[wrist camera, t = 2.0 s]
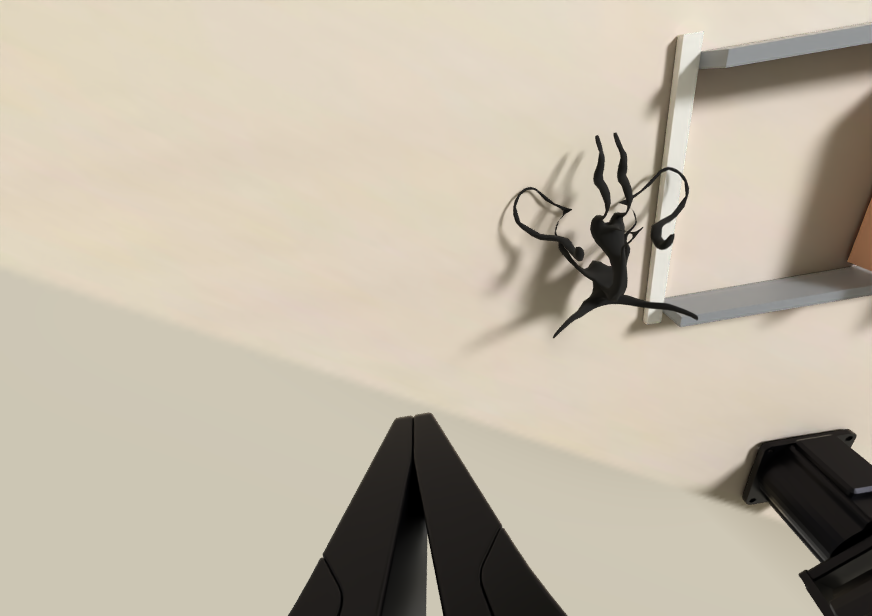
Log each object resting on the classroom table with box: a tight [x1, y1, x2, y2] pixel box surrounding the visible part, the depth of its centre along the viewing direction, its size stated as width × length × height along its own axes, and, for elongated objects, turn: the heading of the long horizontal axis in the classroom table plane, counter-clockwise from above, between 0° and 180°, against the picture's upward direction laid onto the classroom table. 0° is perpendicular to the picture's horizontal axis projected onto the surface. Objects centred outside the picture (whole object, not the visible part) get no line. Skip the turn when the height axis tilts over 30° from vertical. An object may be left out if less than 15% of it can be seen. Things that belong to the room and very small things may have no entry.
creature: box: [513, 133, 698, 338], centre depth 17 cm, size 8×5×8 cm
